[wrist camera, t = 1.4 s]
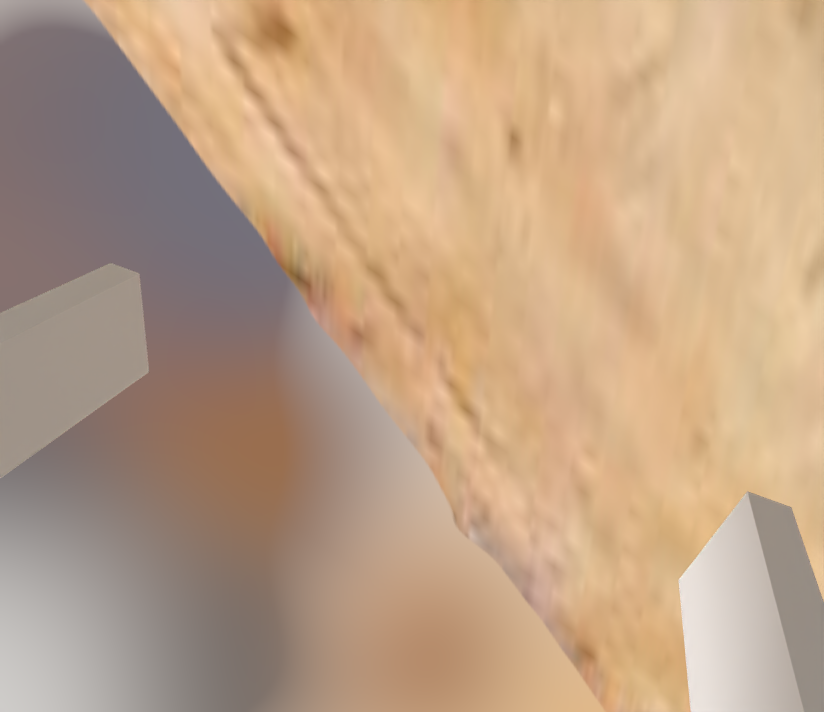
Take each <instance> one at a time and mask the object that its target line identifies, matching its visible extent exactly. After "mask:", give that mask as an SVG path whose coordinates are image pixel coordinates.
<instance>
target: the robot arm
mask: <svg viewBox="0 0 824 712" xmlns="http://www.w3.org/2000/svg"><path fill="white" fill-rule="evenodd" d="M148 372H149V368H148V357H147V347H146V336H145V326H144V316H143V306H142V297H141V286H140V275H139V273H137V272H134V271H131V270H128V269H125V268H123V267H120V266H117V265H114V264H112V263H110V264H108V265H106V266H103V267H101V268H99V269H96V270H94V271H92V272H90V273H88V274H86V275H83V276H81V277H79V278H77V279H74V280H72V281H70V282H68V283H66V284H63V285H61V286H59V287H57V288H54V289H52V290H50V291H48V292H46V293H44V294H41V295H39V296H37V297H35V298H32V299H30V300H28V301H26V302H24V303H21V304H19V305H17V306H15V307H12V308H10V309H8V310H6V311H4V312H1V313H0V478H1V477H3V476H4V475H6V474H7V473H8V472H10V471H11V470H13V469H14V468H15V467H17V466H18V465H20V464H21V463H22V462H24V461H25V460H27V459H28V458H29V457H31V456H32V455H34V454H35V453H36V452H38V451H39V450H41V449H42V448H43V447H45V446H46V445H47V444H49V443H50V442H52V441H53V440H54V439H56V438H57V437H59V436H60V435H61V434H63V433H64V432H66V431H67V430H68V429H70V428H71V427H73V426H74V425H75V424H77V423H78V422H80V421H81V420H82V419H84V418H85V417H87V416H88V415H89V414H91V413H92V412H94V411H95V410H96V409H98V408H99V407H101V406H102V405H103V404H105V403H106V402H108V401H109V400H110V399H112V398H113V397H115V396H116V395H117V394H119V393H120V392H122V391H123V390H124V389H126V388H127V387H128V386H130V385H131V384H133V383H134V382H136V381H137V380H138V379H140V378H141V377H143V376H144V375H145V374H147V373H148ZM679 589H680V599H681V610H682V621H683V632H684V643H685V654H686V665H687V675H688V686H689V697H690V708H691V712H824V602H823V599H822V596H821V593H820V590H819V587H818V584H817V581H816V578H815V576H814V573H813V570H812V567H811V564H810V561H809V558H808V555H807V552H806V549H805V546H804V543H803V540H802V537H801V535H800V532H799V529H798V526H797V523H796V520H795V517H794V514H793V511H792V508H791V507H789V506H786V505H784V504H781V503H778V502H775V501H772V500H770V499H767V498H764V497H761V496H759V495H756V494H753V493H750V492H747V493H746V494H745V495H744V496H743V498H742V499H741V500H740V502H739V503H738V504H737V505H736V507H735V508H734V509H733V511H732V512H731V513H730V514H729V516H728V517H727V518H726V520H725V521H724V522H723V524H722V525H721V526H720V527H719V529H718V530H717V531H716V533H715V534H714V535H713V536H712V538H711V539H710V540H709V542H708V543H707V544H706V545H705V547H704V548H703V549H702V551H701V552H700V553H699V554H698V556H697V557H696V558H695V560H694V561H693V562H692V564H691V565H690V566H689V567H688V569H687V570H686V571H685V573H684V574H683V575H682V576H681V578H680V579H679Z"/></svg>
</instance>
